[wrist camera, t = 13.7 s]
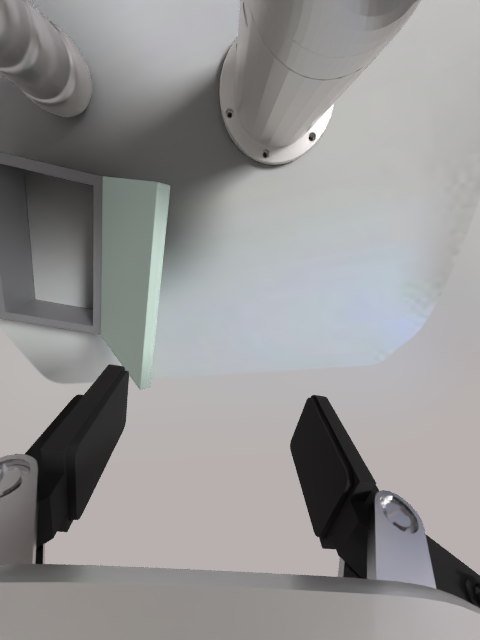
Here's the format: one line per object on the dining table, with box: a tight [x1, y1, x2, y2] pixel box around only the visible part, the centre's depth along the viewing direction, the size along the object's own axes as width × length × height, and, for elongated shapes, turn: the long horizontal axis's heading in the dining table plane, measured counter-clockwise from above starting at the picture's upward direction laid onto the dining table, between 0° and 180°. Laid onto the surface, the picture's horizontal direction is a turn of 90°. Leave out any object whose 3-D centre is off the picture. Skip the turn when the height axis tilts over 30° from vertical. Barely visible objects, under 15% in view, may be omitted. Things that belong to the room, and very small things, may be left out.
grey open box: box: [0, 152, 103, 335], centre depth 30 cm, size 18×12×5 cm, turn 168°
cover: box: [101, 176, 170, 390], centre depth 25 cm, size 18×12×1 cm
